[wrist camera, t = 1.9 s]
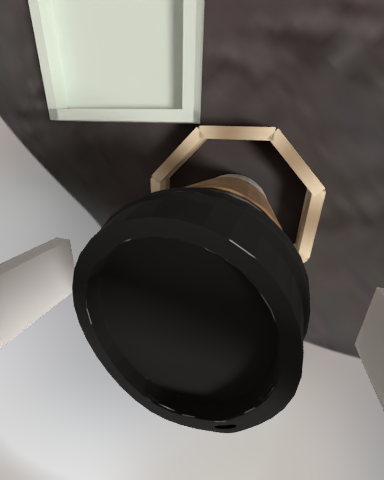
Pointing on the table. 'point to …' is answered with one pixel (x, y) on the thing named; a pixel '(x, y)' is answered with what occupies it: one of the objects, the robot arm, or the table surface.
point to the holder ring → (279, 141)
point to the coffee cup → (197, 304)
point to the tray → (121, 59)
